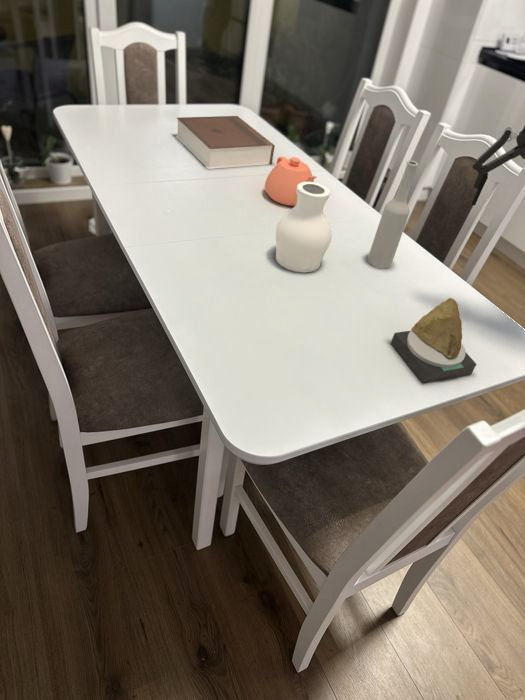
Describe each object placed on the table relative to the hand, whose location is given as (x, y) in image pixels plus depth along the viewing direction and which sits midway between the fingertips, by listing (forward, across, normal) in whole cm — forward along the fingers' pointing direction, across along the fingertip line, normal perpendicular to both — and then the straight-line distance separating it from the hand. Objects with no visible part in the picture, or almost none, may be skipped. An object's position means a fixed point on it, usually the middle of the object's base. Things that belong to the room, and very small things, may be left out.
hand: (504, 212), depth 119 cm
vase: (+27, +42, +4) cm, 50 cm away
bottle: (+27, +23, -10) cm, 37 cm away
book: (+27, +91, -50) cm, 107 cm away
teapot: (+27, +58, -29) cm, 70 cm away
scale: (+27, +3, +24) cm, 36 cm away
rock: (+23, +4, +24) cm, 33 cm away
